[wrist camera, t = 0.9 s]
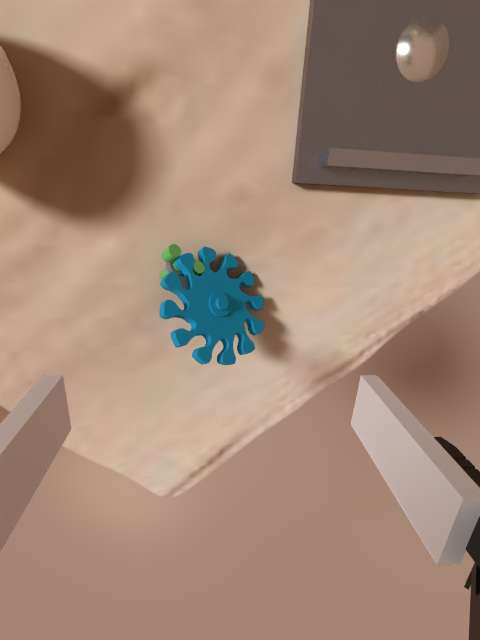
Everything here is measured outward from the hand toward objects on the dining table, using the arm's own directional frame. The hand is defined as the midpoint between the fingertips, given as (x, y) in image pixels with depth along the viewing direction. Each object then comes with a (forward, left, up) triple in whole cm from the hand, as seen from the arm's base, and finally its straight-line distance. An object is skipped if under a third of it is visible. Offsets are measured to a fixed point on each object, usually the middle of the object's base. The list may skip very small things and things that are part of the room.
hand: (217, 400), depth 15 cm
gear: (0, 0, -18) cm, 18 cm away
